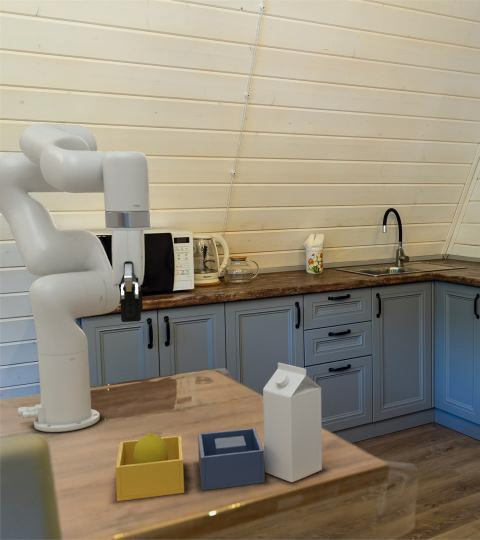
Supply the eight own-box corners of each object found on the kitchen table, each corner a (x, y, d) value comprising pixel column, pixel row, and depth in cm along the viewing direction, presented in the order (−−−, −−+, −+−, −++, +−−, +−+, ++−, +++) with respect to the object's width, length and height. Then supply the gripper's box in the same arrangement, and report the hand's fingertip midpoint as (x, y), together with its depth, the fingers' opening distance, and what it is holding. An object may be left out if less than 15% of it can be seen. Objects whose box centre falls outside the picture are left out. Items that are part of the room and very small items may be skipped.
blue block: (217, 476, 123) (216, 448, 123) (215, 466, 128) (214, 438, 127) (247, 473, 125) (246, 445, 124) (244, 462, 130) (243, 435, 129)
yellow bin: (117, 501, 115) (115, 467, 115) (121, 472, 127) (120, 441, 126) (184, 492, 118) (183, 459, 118) (182, 465, 130) (181, 435, 129)
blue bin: (202, 490, 119) (200, 457, 119) (198, 463, 131) (197, 433, 130) (264, 482, 122) (263, 450, 122) (256, 457, 134) (255, 427, 133)
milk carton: (295, 461, 132) (293, 358, 130) (322, 470, 127) (321, 365, 125) (264, 473, 126) (262, 366, 124) (292, 483, 122) (290, 373, 120)
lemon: (158, 486, 119) (156, 439, 118) (127, 484, 120) (125, 437, 119) (175, 473, 125) (173, 428, 124) (145, 471, 126) (143, 426, 125)
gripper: (109, 219, 136) (113, 309, 138) (101, 224, 120) (106, 326, 122) (151, 219, 138) (155, 307, 140) (149, 223, 122) (153, 324, 124)
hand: (132, 316), depth 131 cm, fingers open, 9 cm apart
